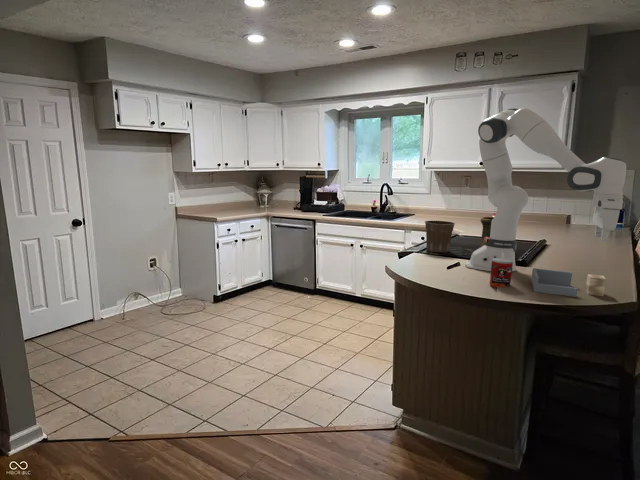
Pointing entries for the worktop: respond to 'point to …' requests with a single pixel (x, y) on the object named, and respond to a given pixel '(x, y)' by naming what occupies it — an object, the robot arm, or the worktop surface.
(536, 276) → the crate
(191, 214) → the worktop surface
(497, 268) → the canned food
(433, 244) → the plant pot
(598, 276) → the birch block
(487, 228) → the vessel
